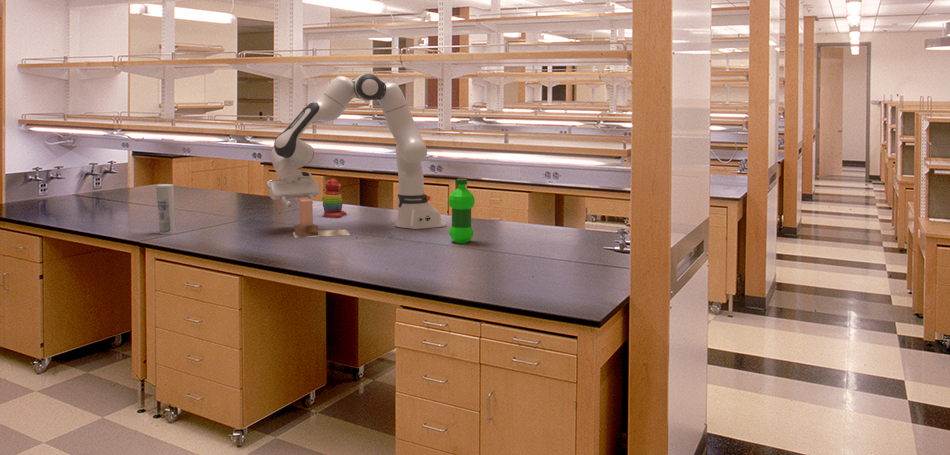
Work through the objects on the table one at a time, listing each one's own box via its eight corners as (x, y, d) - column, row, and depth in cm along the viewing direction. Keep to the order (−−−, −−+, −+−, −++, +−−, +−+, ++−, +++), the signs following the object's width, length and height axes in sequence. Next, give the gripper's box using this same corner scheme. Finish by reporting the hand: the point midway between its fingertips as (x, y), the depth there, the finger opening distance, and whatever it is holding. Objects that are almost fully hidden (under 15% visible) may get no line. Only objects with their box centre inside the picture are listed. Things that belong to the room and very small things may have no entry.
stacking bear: (339, 218, 331) (338, 180, 328) (319, 217, 333) (318, 179, 330) (347, 214, 341) (347, 178, 338) (328, 213, 343) (327, 177, 340)
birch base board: (346, 232, 297) (346, 229, 297) (350, 237, 286) (350, 234, 286) (292, 234, 290) (292, 232, 290) (294, 240, 279) (294, 237, 279)
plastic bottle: (452, 238, 286) (453, 177, 281) (477, 240, 283) (478, 178, 278) (444, 243, 277) (444, 180, 272) (470, 245, 274) (470, 181, 269)
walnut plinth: (311, 232, 290) (310, 222, 289) (318, 235, 284) (317, 225, 284) (294, 234, 286) (294, 224, 285) (301, 236, 280) (301, 227, 279)
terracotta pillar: (309, 223, 287) (308, 199, 285) (313, 225, 284) (312, 200, 282) (299, 224, 285) (298, 200, 283) (303, 226, 282) (302, 201, 280)
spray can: (156, 233, 290) (152, 185, 286) (168, 230, 296) (164, 183, 292) (168, 234, 288) (164, 186, 284) (180, 232, 294) (176, 184, 290)
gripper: (267, 175, 285) (277, 202, 279) (314, 172, 297) (324, 198, 291) (263, 185, 289) (273, 211, 283) (310, 182, 301) (320, 207, 295)
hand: (299, 205), depth 287 cm, fingers open, 8 cm apart
